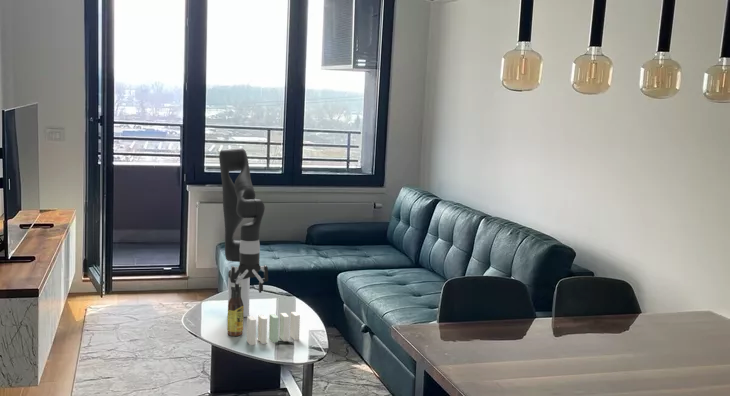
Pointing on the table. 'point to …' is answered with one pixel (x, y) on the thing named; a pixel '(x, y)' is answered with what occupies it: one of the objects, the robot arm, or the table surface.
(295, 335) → the domino
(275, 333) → the domino
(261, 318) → the domino
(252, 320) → the domino
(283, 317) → the domino
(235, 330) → the sauce bottle
